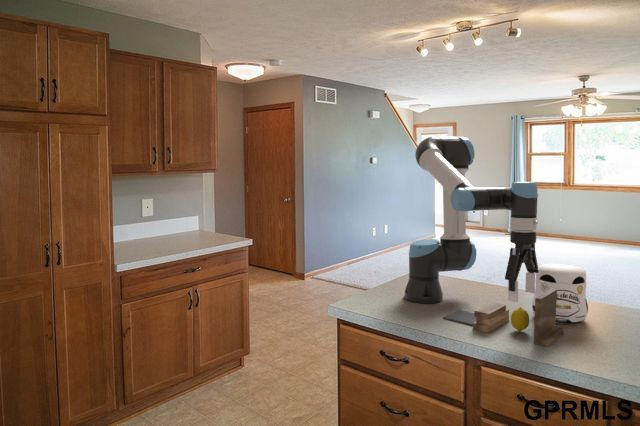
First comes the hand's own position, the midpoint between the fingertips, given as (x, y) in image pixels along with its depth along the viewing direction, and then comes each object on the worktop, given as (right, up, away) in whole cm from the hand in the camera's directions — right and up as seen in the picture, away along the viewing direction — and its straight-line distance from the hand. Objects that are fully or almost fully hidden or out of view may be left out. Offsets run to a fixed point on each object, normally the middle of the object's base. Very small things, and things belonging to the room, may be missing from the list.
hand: (521, 296), depth 151 cm
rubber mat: (-13, -10, +15) cm, 23 cm away
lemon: (0, -12, +2) cm, 12 cm away
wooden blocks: (0, -12, +2) cm, 12 cm away
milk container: (+18, -10, +13) cm, 25 cm away
